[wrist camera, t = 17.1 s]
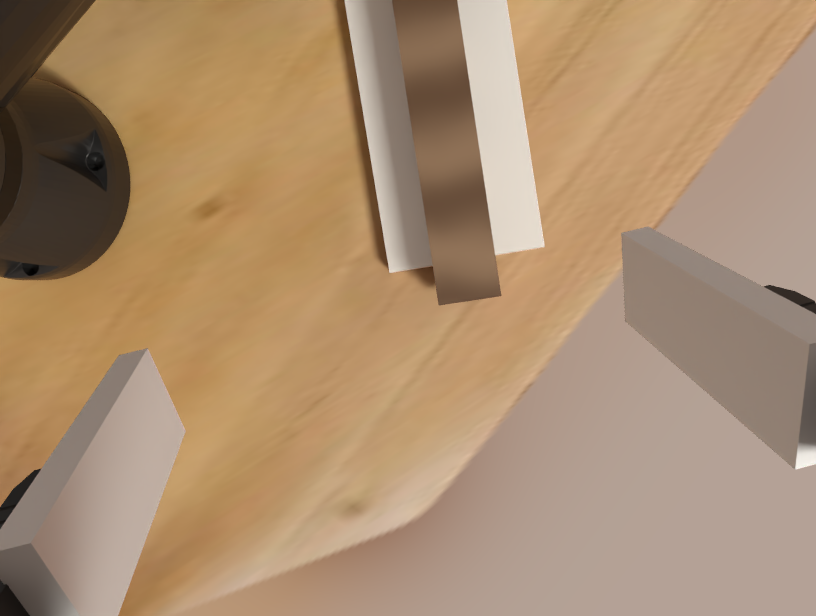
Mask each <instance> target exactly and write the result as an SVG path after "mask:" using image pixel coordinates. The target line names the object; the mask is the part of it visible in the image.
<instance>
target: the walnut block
mask: <svg viewBox="0 0 816 616" xmlns="http://www.w3.org/2000/svg"><path fill="white" fill-rule="evenodd" d="M392 4H393V11H394V17H395V24H396V30H397V37H398V43H399V50H400V56H401V63H402V69H403V76H404V82H405V89H406V95H407V102H408V108H409V115H410V121H411V128H412V134H413V141H414V147H415V154H416V160H417V167H418V173H419V180H420V186H421V193H422V199H423V206H424V212H425V219H426V225H427V232H428V238H429V245H430V251H431V258H432V264H433V271H434V277H435V284H436V290H437V297H438V304H439V305H445V304H451V303H458V302H465V301H471V300H478V299H484V298H491V297H498V296H501V291H500V284H499V277H498V270H497V264H496V257H495V250H494V244H493V237H492V230H491V223H490V217H489V210H488V203H487V197H486V190H485V183H484V176H483V170H482V163H481V156H480V150H479V143H478V136H477V129H476V123H475V116H474V109H473V103H472V96H471V89H470V82H469V76H468V69H467V62H466V56H465V49H464V42H463V36H462V29H461V22H460V15H459V9H458V2H457V0H392Z"/></svg>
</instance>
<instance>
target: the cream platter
mask: <svg viewBox="0 0 816 616" xmlns="http://www.w3.org/2000/svg"><path fill="white" fill-rule="evenodd" d="M344 1H345V7H346V13H347V19H348V25H349V31H350V37H351V43H352V49H353V55H354V61H355V67H356V73H357V79H358V85H359V91H360V97H361V103H362V109H363V115H364V121H365V127H366V134H367V140H368V146H369V152H370V158H371V164H372V170H373V176H374V182H375V188H376V194H377V200H378V206H379V212H380V218H381V224H382V230H383V236H384V242H385V248H386V254H387V260H388V266H389V272H390V273H395V272H401V271H407V270H413V269H419V268H425V267H431V266H433V264H432V258H431V251H430V245H429V238H428V232H427V225H426V219H425V212H424V206H423V199H422V193H421V186H420V180H419V173H418V167H417V160H416V154H415V147H414V141H413V134H412V128H411V121H410V115H409V108H408V102H407V95H406V89H405V82H404V76H403V69H402V63H401V56H400V50H399V43H398V37H397V30H396V24H395V17H394V11H393V4H392V0H344ZM457 2H458V9H459V15H460V22H461V29H462V36H463V42H464V49H465V56H466V62H467V69H468V76H469V82H470V89H471V96H472V103H473V109H474V116H475V123H476V129H477V136H478V143H479V150H480V156H481V163H482V170H483V176H484V183H485V190H486V197H487V203H488V210H489V217H490V223H491V230H492V237H493V244H494V250H495V256H496V255H502V254H508V253H514V252H520V251H526V250H532V249H538V248H543V247H545V246H544V239H543V233H542V226H541V220H540V213H539V207H538V200H537V194H536V187H535V181H534V174H533V168H532V161H531V155H530V149H529V142H528V136H527V129H526V123H525V116H524V110H523V103H522V97H521V90H520V84H519V77H518V71H517V64H516V58H515V51H514V45H513V38H512V32H511V25H510V19H509V13H508V6H507V0H457Z"/></svg>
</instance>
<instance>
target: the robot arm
mask: <svg viewBox="0 0 816 616" xmlns="http://www.w3.org/2000/svg"><path fill="white" fill-rule="evenodd" d="M94 2H95V0H0V277H4V278H9V279H15V280H52V279H58V278H63V277H67V276H70V275H72V274H75V273H77V272H79V271H81V270H83V269H85V268H86V267H88V266H89V265H91V264H92V263H94V262H95V261H96V260H97V259H98V258H99V257H101V256H102V255H103V254H104V252H105V251H106V250H107V249H108V248H109V247H110V245H111V244H112V243H113V241H114V240H115V238H116V236H117V235H118V233H119V231H120V229H121V227H122V224H123V222H124V219H125V216H126V212H127V208H128V203H129V197H130V173H129V166H128V161H127V157H126V153H125V150H124V148H123V145H122V143H121V140H120V138H119V136H118V134H117V133H116V131H115V129H114V128H113V126H112V125H111V123H110V122H109V121H108V119H107V118H106V117H105V116H104V115H103V114H102V112H101V111H100V110H98V109H97V108H96V107H95V106H94V105H93V104H91V103H90V102H89V101H87V100H86V99H84V98H83V97H81V96H79V95H78V94H75V93H73V92H71V91H69V90H67V89H65V88H62V87H60V86H58V85H56V84H54V83H51V82H48V81H45V80H41V79H37V78H32V76H33V74H34V73H35V72H36V71H37V70H38V68H39V67H40V66H41V65H42V64H43V62H44V61H45V60H46V59H47V58H48V56H49V55H50V54H51V53H52V52H53V50H54V49H55V48H56V47H57V46H58V45H59V43H60V42H61V41H62V40H63V39H64V37H65V36H66V35H67V34H68V33H69V31H70V30H71V29H72V28H73V27H74V25H75V24H76V23H77V22H78V21H79V19H80V18H81V17H82V16H83V15H84V14H85V12H86V11H87V10H88V9H89V8H90V6H91V5H92V4H93V3H94ZM621 236H622V259H623V282H624V304H625V321H626V322H627V323H628V324H629V325H630V326H631V327H633V328H634V329H635V330H636V331H637V332H638V333H639V334H641V335H642V336H643V337H644V338H645V339H646V340H647V341H649V342H650V343H651V344H652V345H653V346H654V347H655V348H657V349H658V350H659V351H660V352H661V353H662V354H663V355H665V356H666V357H667V358H668V359H669V360H670V361H671V362H673V363H674V364H675V365H676V366H677V367H678V368H679V369H681V370H682V371H683V372H684V373H685V374H686V375H687V376H689V377H690V378H691V379H692V380H693V381H694V382H696V383H697V384H698V385H699V386H700V387H701V388H702V389H703V390H705V391H706V392H707V393H708V394H709V395H710V396H712V397H713V398H714V399H715V400H716V401H717V402H719V403H720V404H721V405H722V406H723V407H724V408H725V409H727V410H728V411H729V412H730V413H731V414H732V415H733V416H734V417H736V418H737V419H738V420H739V421H740V422H741V423H742V424H744V425H745V426H746V427H747V428H748V429H749V430H751V431H752V432H753V433H754V434H755V435H756V436H757V437H758V438H760V439H761V440H762V441H763V442H764V443H765V444H767V445H768V446H769V447H770V448H771V449H772V450H773V451H774V452H776V453H777V454H778V455H779V456H780V457H781V458H782V459H784V460H785V461H786V462H787V463H788V464H789V465H791V466H792V467H793V468H794V469H799V468H803V467H806V466H810V465H814V464H816V303H815V301H813V300H812V299H809V298H807V297H805V296H803V295H801V294H799V293H797V292H795V291H791V290H787V289H784V288H780V287H775V286H771V285H768V286H764V287H763V286H761V285H759V284H757V283H755V282H753V281H751V280H749V279H747V278H746V277H744V276H741V275H740V274H737V273H736V272H734V271H732V270H730V269H728V268H726V267H724V266H723V265H720V264H719V263H717V262H715V261H713V260H711V259H709V258H707V257H705V256H703V255H701V254H699V253H698V252H696V251H694V250H692V249H690V248H688V247H686V246H684V245H682V244H680V243H678V242H676V241H675V240H673V239H671V238H669V237H667V236H665V235H663V234H661V233H659V232H657V231H655V230H654V229H652V228H650V227H644V228H640V229H636V230H632V231H628V232H624V233H621ZM184 434H185V429H184V426H183V424H182V422H181V420H180V418H179V416H178V413H177V411H176V409H175V407H174V405H173V403H172V400H171V398H170V396H169V394H168V392H167V389H166V387H165V385H164V383H163V381H162V379H161V376H160V374H159V372H158V370H157V368H156V365H155V363H154V361H153V359H152V357H151V355H150V352H149V350H148V348H147V349H143V350H139V351H135V352H131V353H126V354H122V355H119V356H118V357H117V359H116V360H115V362H114V363H113V365H112V366H111V368H110V369H109V371H108V372H107V374H106V375H105V377H104V378H103V379H102V381H101V382H100V384H99V385H98V387H97V388H96V390H95V391H94V393H93V394H92V396H91V397H90V398H89V400H88V401H87V403H86V404H85V406H84V407H83V409H82V410H81V412H80V413H79V415H78V416H77V418H76V419H75V420H74V422H73V423H72V425H71V426H70V428H69V429H68V431H67V432H66V434H65V435H64V437H63V438H62V440H61V441H60V442H59V444H58V445H57V447H56V448H55V450H54V451H53V453H52V454H51V456H50V457H49V459H48V460H47V461H46V463H45V464H44V466H43V467H42V469H38V470H34V471H33V472H32V473H31V474H30V475H29V476H28V477H26V478H25V479H24V480H23V481H22V482H21V483H20V484H19V485H17V486H16V487H15V488H14V489H13V490H12V491H11V493H10V494H9V496H8V497H7V498H6V500H5V501H4V503H3V504H2V505H1V507H0V616H118V614H119V611H120V609H121V606H122V603H123V601H124V598H125V595H126V592H127V590H128V587H129V584H130V581H131V579H132V576H133V573H134V570H135V568H136V565H137V562H138V560H139V557H140V554H141V551H142V549H143V546H144V543H145V540H146V538H147V535H148V532H149V530H150V527H151V524H152V521H153V519H154V516H155V513H156V510H157V508H158V505H159V502H160V500H161V497H162V494H163V491H164V489H165V486H166V483H167V480H168V478H169V475H170V472H171V469H172V467H173V464H174V461H175V459H176V456H177V453H178V450H179V448H180V445H181V442H182V439H183V437H184Z"/></svg>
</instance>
